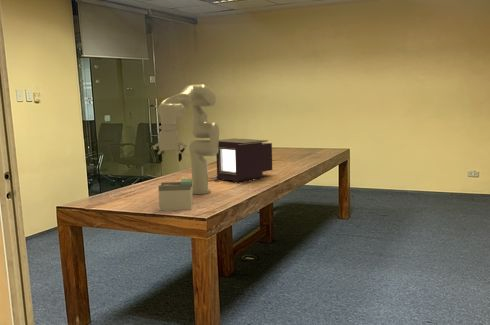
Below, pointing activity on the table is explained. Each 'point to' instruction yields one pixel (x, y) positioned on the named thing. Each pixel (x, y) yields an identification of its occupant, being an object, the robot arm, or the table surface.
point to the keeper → (185, 181)
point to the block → (175, 196)
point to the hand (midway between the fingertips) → (170, 161)
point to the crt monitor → (243, 159)
